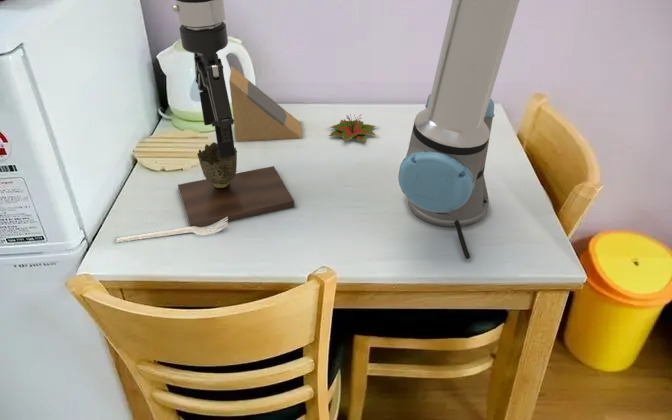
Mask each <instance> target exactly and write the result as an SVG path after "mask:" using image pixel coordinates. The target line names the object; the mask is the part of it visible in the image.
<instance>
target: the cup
mask: <svg viewBox="0 0 672 420" xmlns="http://www.w3.org/2000/svg"><path fill="white" fill-rule="evenodd" d="M234 149H235V156H230V157H225V158H220V157H219V152H218V145H217V142H214V141H213V142H212V143H210V144H208V143H207V144H205V145H204V150H203V149H202V150H201V149H198V153H197V158H198V161H199V165H200V168H201V171H202V174H203V176H204V179H207V180H208V181H209V182H211V183H212V185H213V187H214V188H215V189H218V190H224V189H227V188H228V187H229V186H230V184H231V180H232V179H233V178H234V176H235V174H236V173H237V164H238V150H237V147H236V146H234Z"/></svg>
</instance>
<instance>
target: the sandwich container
mask: <svg viewBox="0 0 672 420" xmlns="http://www.w3.org/2000/svg"><path fill="white" fill-rule="evenodd" d="M228 83H229V92H230V101H231V111H232V118H233V120H234V123H233V126H234V134H235V142H251V141H252V142H253V141H254V142H255V141H272V140H273V141H274V140H275V141H276V140H290V139H302V138H303V134H302V133H303V132H302V131H303V130H302V129H303V128H302V125H301V121H300V120H298V119H297V118H296V117H295V116H293V115H292V114H291V113H289V112H288V111H287V110H286V109H284V108H283V107H282V106H280V105H279V104H278V103H277V102H276V101H274V100H273V99H272V98H271V97H270V96H268V95H267V94H266V93H264V91H262V90H261V89H260V88H259V87H258V86H256V85H255V84H254V83H252V81H250V80H249V79H248V78H247V77H245V76H244V75H243V74H242V73H241V72H240V71H239V70H237V69H236V68H235V67H234V66H230V75H229V79H228Z"/></svg>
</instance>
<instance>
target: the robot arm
mask: <svg viewBox="0 0 672 420" xmlns="http://www.w3.org/2000/svg"><path fill="white" fill-rule="evenodd" d="M174 3H175V5H174V4H173V5H172V6H171V8H172V10H171V11H173V12H176V15H177V21H178V23H179V24H180V26H179V29H178V30H179V34H180V35H179V36H180V41H181V47H182V49H183V50H185V51H186V52H188V53H190V54H193V62H194V73H195V74H194V75H195V83H196V84H197V89H198V90H199V92H198V93H199V99H200V105H201V112H202V119H203V123H204V126H210V125H211V127H213V128H214V131H215V136H216V143H217V145H218V152H219V157H220V158H225V157H230V156H235V149H234V148H235V142H234V141H235V140H234V133H233V127H232V125H234V119H233V112H232V107H231V103H230V99H229V94H228V89H227V84H226V80H225V79H226V78H225V73H224V65H223V64H222V59H221V58H220V57H219V55H218V52H219V51H222V50H224V49H225V48H226V47H227V46H228V44H229V40H228V32H227V25H226V23H225V22H224V21H225V20H226V13H225V4H224V0H174ZM519 4H520V0H452V2H451V6H450V9H449V14H448V17H447V23H446V26H445V31H444V36H443V38H442V39H443V40H442V44H441V48H440V52H439V53H440V54H439V57H438V62H437V65H436V70H435V75H434V79H433V83H432V87H431V91H430V94H429V95H428V96H427V100H426V104H425V108H424V109H422V110H420V111H419V112H418V113H417V114H416V115H415V118H414V121H413V126H412V130H411V135H410V141H409V143H408V149H407V151H406V155H405V157H404V159H403V160H402V161H401V163H400V164H399V171H398V178H397V180H398V185H399V188H400V190H401V192H402V193H403V195H404V196H405V197H407V204H408V208H409V210H410V211H411V212H412V214H414V215H415V216H416V217H417V218H418V219H420V220H422V221H424V222H426V223H428V224H431V225H434V226H438V227H443V228H455V229H456V234H457V237H458V241H459V244H460V247H461V250H462V252H463V256H464V258H465V259H466V260H469V259H470V258H471V255H470V252H469V249H468V247H467V244H466V243H467V242H466V241H465V236H464V232H463V230H462V228H464V227H470V226H473V225H475V224H477V223H479V222H481V221H482V220H483V219H484V218H485V217H486V216H487V213H488V209H489V204H490V201H489V200H490V199H489V193H488V189H487V184H486V179H485V168H486V161H487V155H488V151H489V143H490V137H491V131H492V126H493V119H494V118H495V116H496V115H495V102H494V101H493V99H492V98H491V97H492V94H493V91H494V87H495V84H496V81H497V77H498V75H499V71H500V67H501V64H502V60H503V57H504V54H505V50H506V47H507V44H508V40H509V37H510V34H511V30H512V27H513V24H514V20H515V17H516V13H517V10H518V7H519Z"/></svg>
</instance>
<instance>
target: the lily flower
mask: <svg viewBox="0 0 672 420" xmlns="http://www.w3.org/2000/svg"><path fill="white" fill-rule="evenodd" d="M361 116H362V114H359V115H358V118H357V116H356V115H355V114H354V116H353V117H354V120H352V118H351V117H352V114H349V115H346V119H347V120H346V119H345V118H343V119H340V121H339V123H336V124H334V125H332V126H330V128H332V129H334V130H333V131H331V132H330V134H329V135H328V137H339V138H340V137H341V138H342V139H343V141H344V143H346V142H348V141H349V140H351V139H353V140H356V141H359V142H362V143H366V139H367V135H370V136H376V134H375V132H373V129H374V128H375V127H376V125H373V124H367V123H365V124H364V121H361V119H362V117H361Z"/></svg>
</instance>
